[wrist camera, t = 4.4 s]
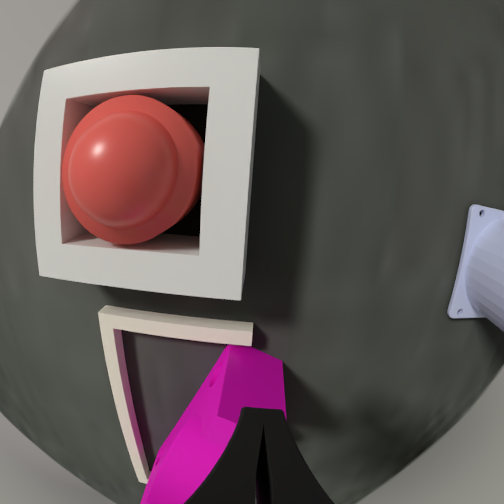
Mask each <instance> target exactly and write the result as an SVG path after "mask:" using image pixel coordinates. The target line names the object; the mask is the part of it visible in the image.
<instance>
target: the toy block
mask: <svg viewBox="0 0 504 504" xmlns="http://www.w3.org/2000/svg"><path fill="white" fill-rule="evenodd" d="M243 407H255V408H268V409H281V410H282V411H283V412H284V414H285V418H286V405H285V392H284V378H283V365H282V361H281V360H279V359H277V358H274V357H272V356H270V355H268V354H266V353H263V352H261V351H259V350H257V349H255V348H253V347H251V346H245V345H233V344H228V345H227V346H226V348H225V350H224V351H223V353H222V354H221V356H220V357H219V359H218V361H217V362H216V364H215V365H214V367H213V368H212V370H211V372H210V373H209V375H208V376H207V378H206V379H205V381H204V382H203V384H202V386H201V387H200V389H199V390H198V392H197V393H196V395H195V396H194V398H193V400H192V401H191V403H190V404H189V406H188V407H187V409H186V410H185V412H184V413H183V415H182V416H181V418H180V419H179V421H178V422H177V424H176V425H175V427H174V428H173V430H172V431H171V433H170V434H169V436H168V438H167V439H166V440H165V442H164V443H163V445H162V446H161V448H160V449H159V451H158V454H157V457H156V459H155V462H154V465H153V468H152V471H151V474H150V477H149V480H148V482H147V485H146V488H145V491H144V494H143V497H142V500H141V503H140V504H184V503H185V502H186V500H187V499H188V498H189V497H190V496H191V495H192V494H193V493H194V492H195V491H196V489H197V488H198V487H199V486H200V485H201V483H202V482H203V481H204V480H205V478H206V477H207V476H208V474H209V473H210V472H211V470H212V469H213V467H214V466H215V464H216V463H217V461H218V459H219V458H220V456H221V455H222V453H223V451H224V450H225V448H226V446H227V444H228V442H229V440H230V438H231V436H232V434H233V432H234V430H235V428H236V425H237V423H238V420H239V416H240V412H241V408H243ZM286 421H287V420H286Z"/></svg>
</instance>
